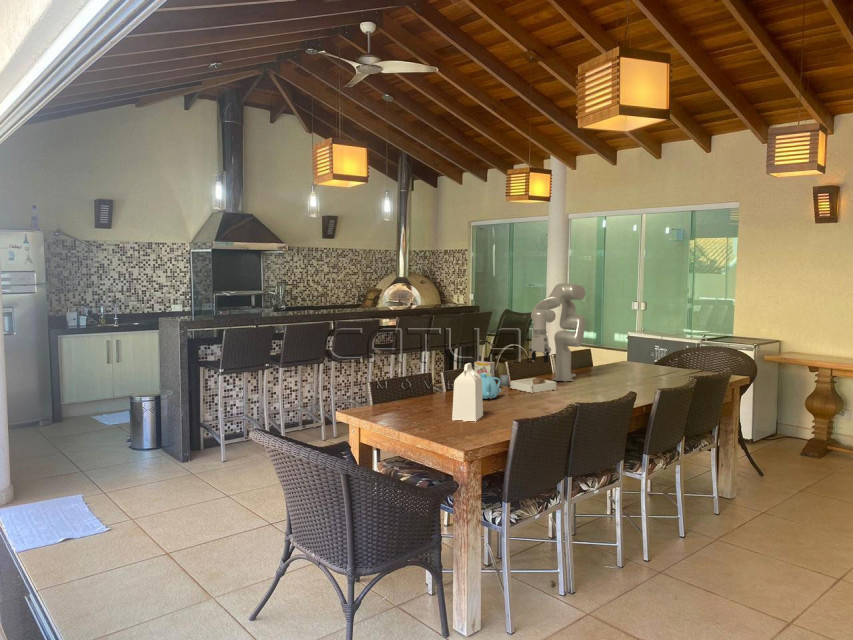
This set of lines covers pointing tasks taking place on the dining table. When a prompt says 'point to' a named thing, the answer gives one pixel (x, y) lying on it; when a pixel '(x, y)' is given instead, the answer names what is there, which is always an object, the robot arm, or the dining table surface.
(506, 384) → the slate capsule
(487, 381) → the decorative pot
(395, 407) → the dining table surface
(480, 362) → the candy bar box
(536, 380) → the walnut cube
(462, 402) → the milk
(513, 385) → the tote
